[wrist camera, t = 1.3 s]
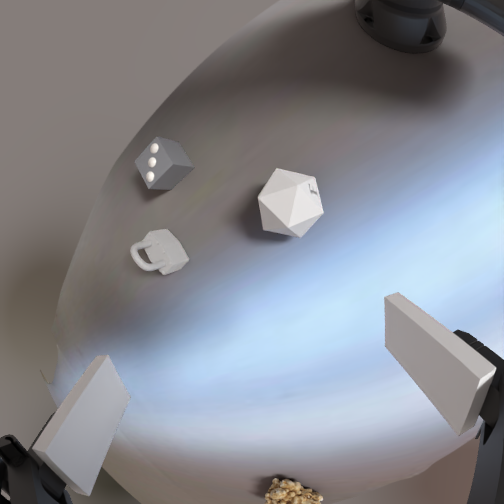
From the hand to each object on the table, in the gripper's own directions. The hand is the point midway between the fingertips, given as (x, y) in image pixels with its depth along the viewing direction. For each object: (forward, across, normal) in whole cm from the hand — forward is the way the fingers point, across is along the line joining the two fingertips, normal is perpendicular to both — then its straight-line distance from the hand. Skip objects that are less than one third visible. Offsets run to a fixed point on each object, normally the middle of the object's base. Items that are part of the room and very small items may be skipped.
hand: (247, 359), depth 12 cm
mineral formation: (+25, -3, -62) cm, 67 cm away
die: (+29, +9, +3) cm, 31 cm away
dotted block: (+38, -9, +14) cm, 42 cm away
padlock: (+38, -12, 0) cm, 40 cm away
